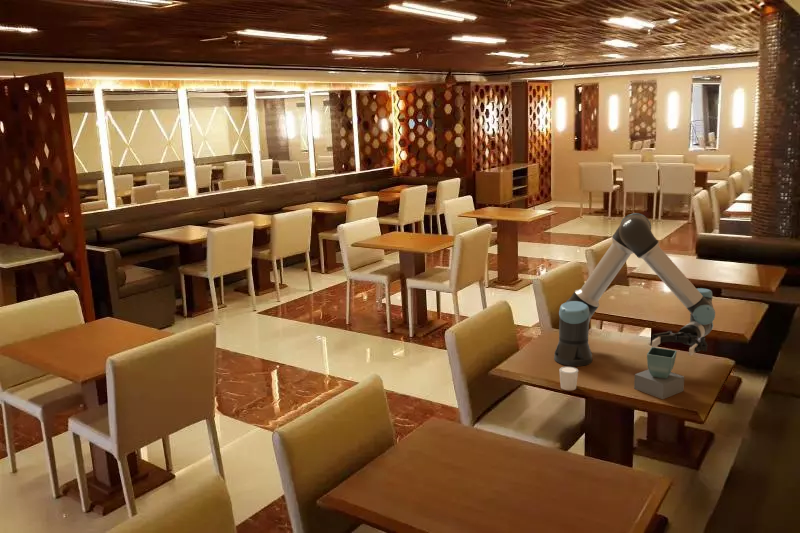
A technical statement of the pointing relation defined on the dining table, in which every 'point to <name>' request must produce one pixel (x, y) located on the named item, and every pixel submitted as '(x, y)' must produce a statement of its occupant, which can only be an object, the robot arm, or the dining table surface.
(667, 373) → the flower pot
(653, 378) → the charcoal stand
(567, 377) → the shot glass
